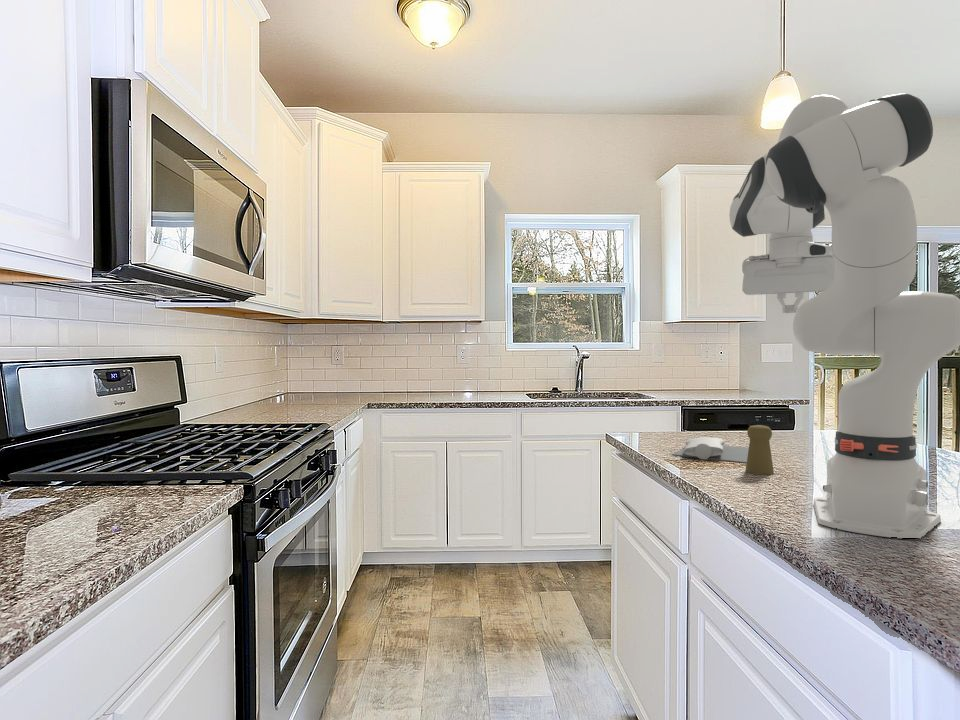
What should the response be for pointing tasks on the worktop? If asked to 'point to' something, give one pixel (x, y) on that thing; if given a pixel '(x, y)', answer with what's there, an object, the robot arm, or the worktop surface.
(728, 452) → the mat
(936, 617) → the worktop surface
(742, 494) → the worktop surface
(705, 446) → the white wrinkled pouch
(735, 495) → the worktop surface
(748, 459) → the cork
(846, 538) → the worktop surface
